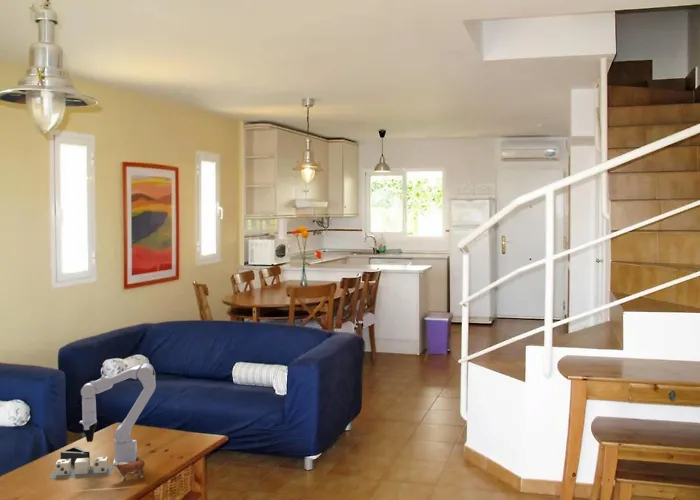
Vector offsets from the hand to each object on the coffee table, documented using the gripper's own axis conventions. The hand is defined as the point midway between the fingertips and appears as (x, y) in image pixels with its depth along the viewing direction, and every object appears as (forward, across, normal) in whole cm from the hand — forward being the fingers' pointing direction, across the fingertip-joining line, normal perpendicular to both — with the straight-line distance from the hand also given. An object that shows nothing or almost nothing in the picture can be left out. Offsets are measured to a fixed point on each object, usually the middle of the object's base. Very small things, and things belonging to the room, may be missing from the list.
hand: (89, 441), depth 317 cm
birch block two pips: (+9, +13, +6) cm, 17 cm away
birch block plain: (+9, +13, -1) cm, 16 cm away
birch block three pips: (+9, +13, -8) cm, 18 cm away
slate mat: (+9, +13, -1) cm, 16 cm away
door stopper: (+6, -2, -10) cm, 12 cm away
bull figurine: (+10, +24, +19) cm, 32 cm away
